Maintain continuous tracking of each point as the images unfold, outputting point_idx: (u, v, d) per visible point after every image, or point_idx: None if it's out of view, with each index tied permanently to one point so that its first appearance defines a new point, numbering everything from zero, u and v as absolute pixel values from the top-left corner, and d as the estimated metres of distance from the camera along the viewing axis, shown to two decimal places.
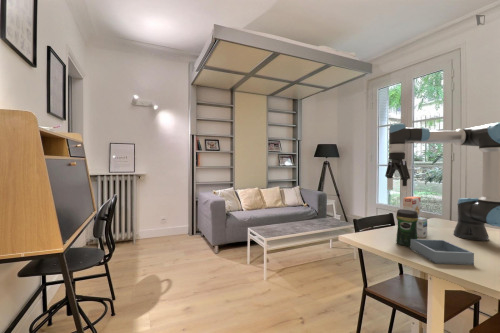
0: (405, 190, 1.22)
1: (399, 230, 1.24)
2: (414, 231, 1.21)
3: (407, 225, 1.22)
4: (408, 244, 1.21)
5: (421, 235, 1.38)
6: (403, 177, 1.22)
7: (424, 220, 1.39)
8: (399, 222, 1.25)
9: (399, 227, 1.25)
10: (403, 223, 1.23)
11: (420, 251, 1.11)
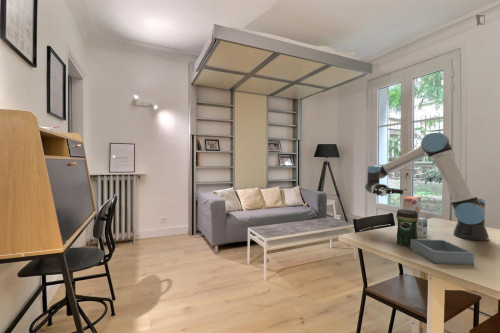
0: (383, 191, 1.36)
1: (399, 230, 1.24)
2: (414, 231, 1.21)
3: (407, 225, 1.22)
4: (408, 244, 1.21)
5: (421, 235, 1.38)
6: (376, 193, 1.43)
7: (424, 220, 1.39)
8: (399, 222, 1.25)
9: (399, 227, 1.25)
10: (403, 223, 1.23)
11: (420, 251, 1.11)
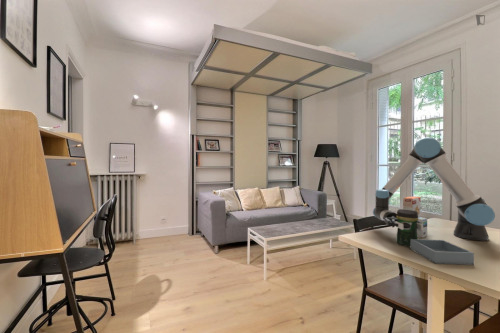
0: (400, 225, 1.22)
1: (399, 230, 1.24)
2: (414, 231, 1.21)
3: (407, 225, 1.22)
4: (408, 244, 1.21)
5: (421, 235, 1.38)
6: (392, 224, 1.29)
7: (424, 220, 1.39)
8: (399, 222, 1.25)
9: None
10: (403, 223, 1.23)
11: (420, 251, 1.11)
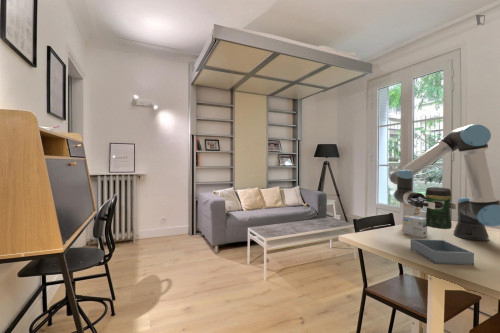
0: (431, 204, 1.07)
1: (429, 210, 1.10)
2: (447, 211, 1.06)
3: (439, 204, 1.07)
4: (440, 226, 1.06)
5: (421, 235, 1.38)
6: (420, 205, 1.14)
7: (424, 220, 1.39)
8: (429, 201, 1.10)
9: None
10: (434, 202, 1.08)
11: (420, 251, 1.11)
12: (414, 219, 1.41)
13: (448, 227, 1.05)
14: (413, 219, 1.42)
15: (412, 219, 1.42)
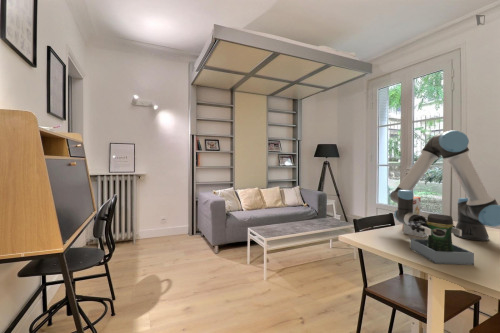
0: (427, 230, 1.08)
1: (431, 238, 1.09)
2: (449, 239, 1.05)
3: (441, 232, 1.06)
4: None
5: (421, 235, 1.38)
6: None
7: None
8: (431, 229, 1.09)
9: (431, 234, 1.09)
10: (436, 229, 1.07)
11: (420, 251, 1.11)
12: None
13: None
14: None
15: None
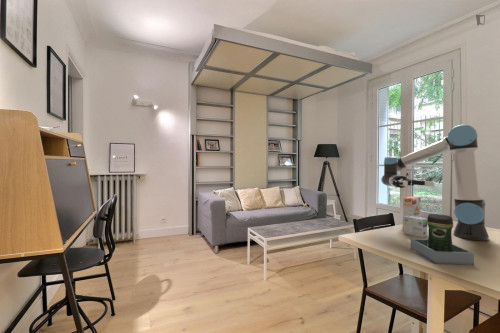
0: (405, 182, 1.28)
1: (431, 238, 1.09)
2: (449, 239, 1.05)
3: (441, 232, 1.06)
4: None
5: (421, 235, 1.38)
6: (396, 184, 1.35)
7: (424, 220, 1.39)
8: (431, 228, 1.09)
9: (431, 234, 1.09)
10: (436, 229, 1.07)
11: (420, 251, 1.11)
12: (414, 219, 1.41)
13: None
14: (413, 219, 1.42)
15: (412, 219, 1.42)
